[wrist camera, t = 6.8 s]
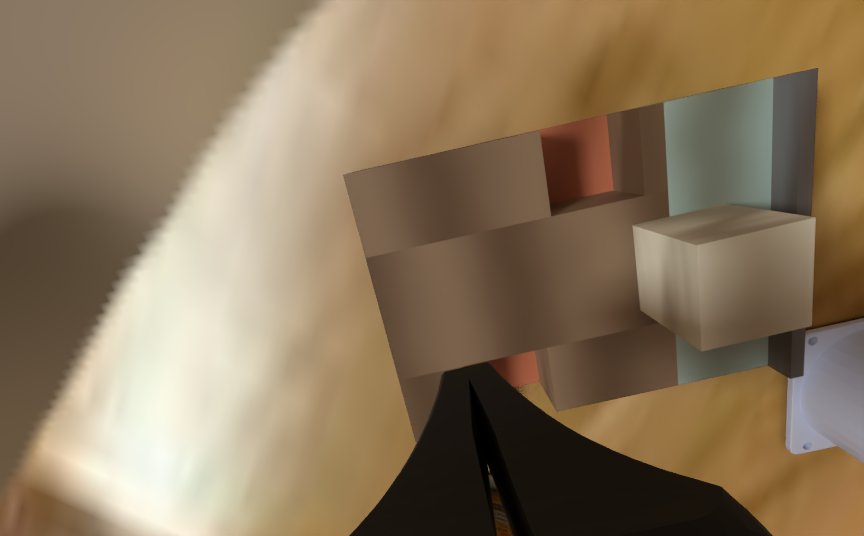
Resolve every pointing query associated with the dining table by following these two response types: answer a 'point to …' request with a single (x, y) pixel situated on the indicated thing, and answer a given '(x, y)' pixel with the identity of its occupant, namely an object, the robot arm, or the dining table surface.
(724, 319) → the block
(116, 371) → the dining table surface
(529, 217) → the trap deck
